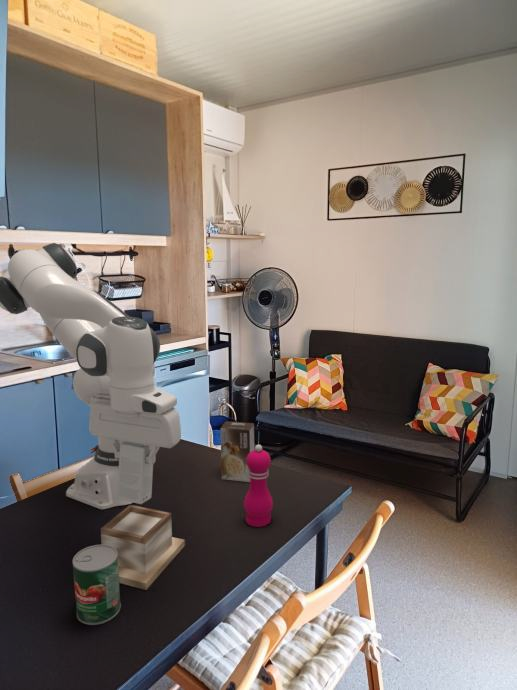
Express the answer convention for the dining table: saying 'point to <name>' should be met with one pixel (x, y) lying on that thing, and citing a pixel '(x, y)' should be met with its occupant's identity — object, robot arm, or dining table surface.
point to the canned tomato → (96, 584)
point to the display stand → (141, 544)
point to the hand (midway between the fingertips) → (135, 460)
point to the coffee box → (236, 450)
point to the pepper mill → (258, 489)
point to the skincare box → (134, 473)
